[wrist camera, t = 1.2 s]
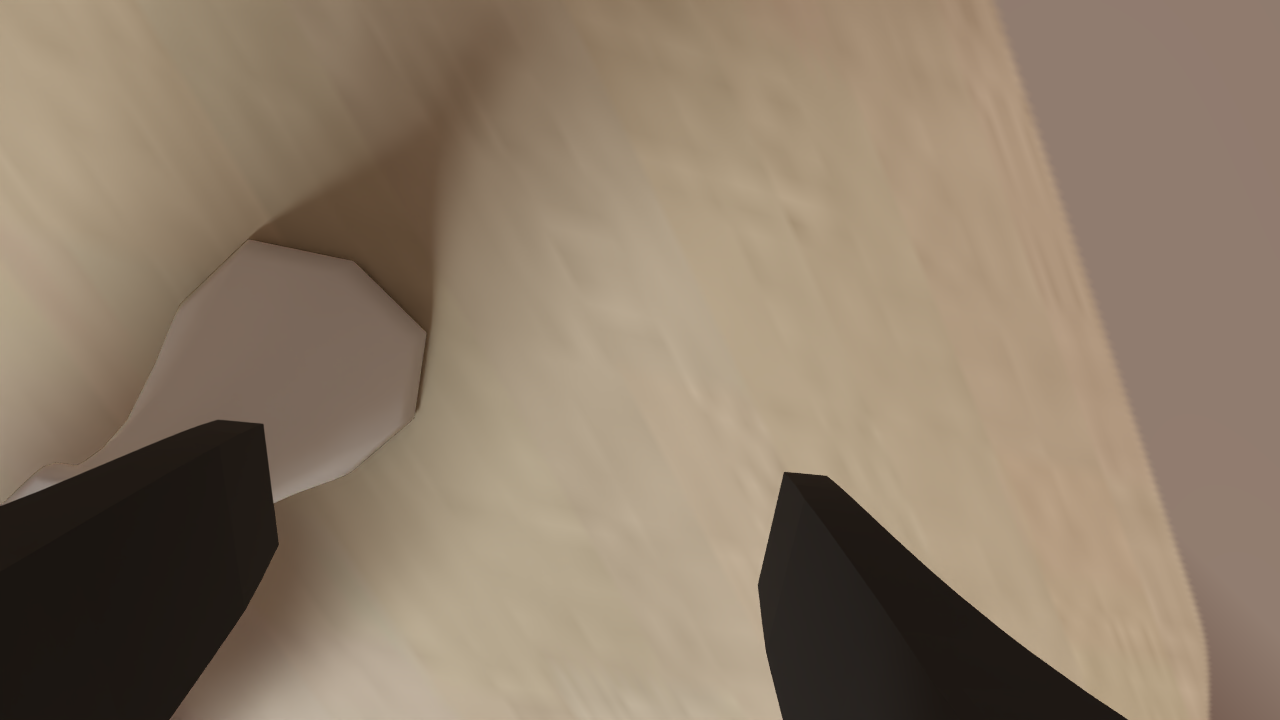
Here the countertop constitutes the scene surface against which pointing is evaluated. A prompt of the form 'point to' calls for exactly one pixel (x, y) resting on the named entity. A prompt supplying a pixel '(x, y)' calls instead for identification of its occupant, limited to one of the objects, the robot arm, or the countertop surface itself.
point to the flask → (278, 367)
